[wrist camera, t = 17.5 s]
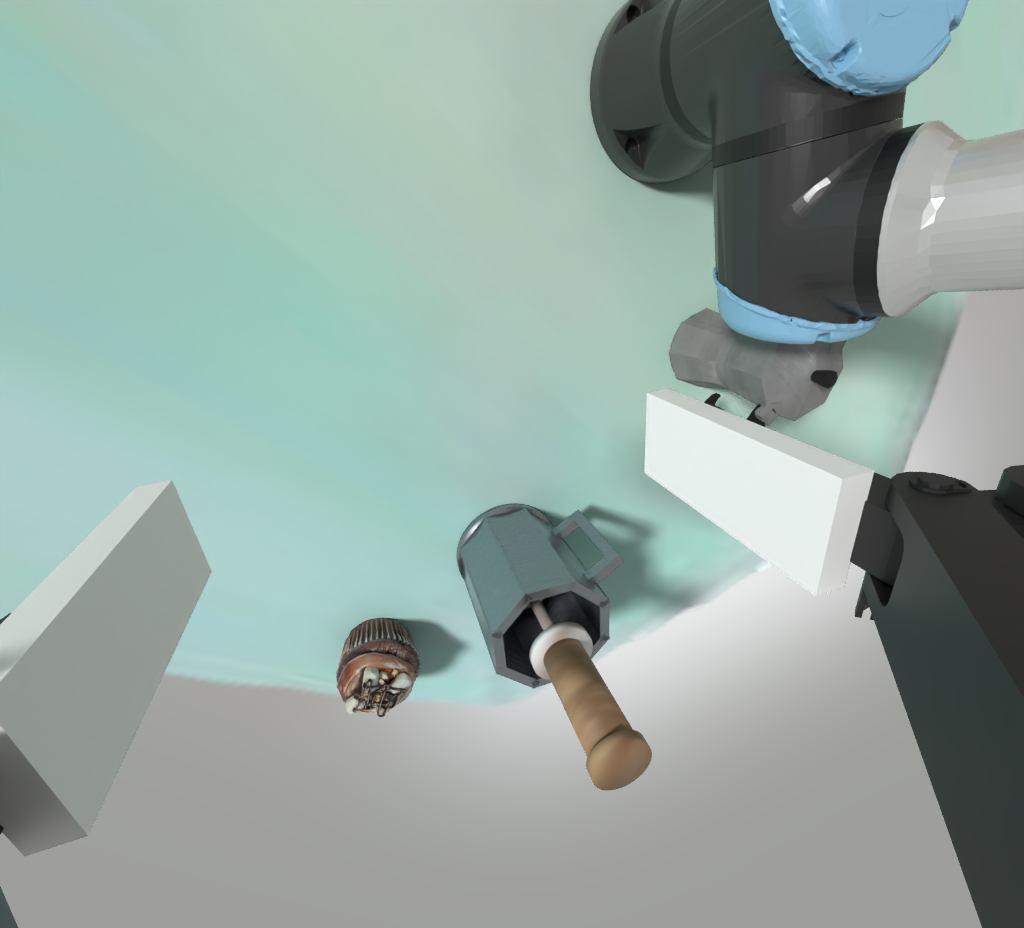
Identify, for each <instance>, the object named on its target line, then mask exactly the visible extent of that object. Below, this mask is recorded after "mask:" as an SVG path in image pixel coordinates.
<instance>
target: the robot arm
mask: <svg viewBox="0 0 1024 928" xmlns="http://www.w3.org/2000/svg"><path fill="white" fill-rule="evenodd" d="M968 1H969V0H629V1H628V2H627V3H626V4H625V5H623V6H622V8H621V9H620V10H619V11H618V12H617V13H616V14H615V15H614V17H613V18H612V20H611V21H610V23H609V24H608V26H607V27H606V29H605V31H604V33H603V35H602V37H601V40H600V42H599V45H598V48H597V51H596V54H595V58H594V62H593V67H592V73H591V83H590V100H591V110H592V116H593V121H594V125H595V128H596V131H597V134H598V137H599V139H600V142H601V144H602V146H603V148H604V150H605V151H606V153H607V154H608V156H609V157H610V159H611V160H612V161H613V162H614V164H615V165H616V166H617V167H618V168H619V169H620V170H622V171H623V172H624V173H625V174H627V175H629V176H630V177H632V178H634V179H636V180H639V181H642V182H646V183H665V182H670V181H673V180H677V179H681V178H684V177H686V176H689V175H691V174H693V173H694V172H696V171H698V170H699V169H701V168H702V167H704V166H705V165H706V164H707V163H708V162H710V161H711V160H712V161H713V169H712V173H713V203H714V232H715V261H716V267H715V268H714V271H713V276H714V281H715V283H716V285H717V295H718V308H719V313H720V316H721V318H722V319H723V320H724V321H725V322H726V323H727V325H728V326H729V327H730V328H731V329H733V330H734V331H736V332H738V333H740V334H742V335H745V336H747V337H751V338H754V339H758V340H763V341H768V342H776V343H785V344H813V343H814V342H815V341H823V342H828V343H831V342H839V341H845V340H849V339H853V338H856V337H859V336H862V335H864V334H866V333H867V332H868V331H870V330H871V329H873V328H874V327H875V326H876V324H877V323H878V321H879V320H880V319H881V318H882V317H895V316H902V315H904V314H906V313H907V312H909V311H910V310H912V309H913V308H914V307H916V306H917V305H919V304H920V303H921V302H923V301H924V300H926V299H927V298H928V297H930V296H931V295H933V294H936V293H938V292H961V291H984V290H985V291H986V290H987V291H988V290H1016V289H1024V129H1023V130H1018V131H1014V132H1009V133H1004V134H1000V135H995V136H991V137H986V138H981V139H977V140H966V139H963V138H962V137H961V136H960V135H958V134H957V133H956V132H954V131H953V130H952V129H951V128H949V127H948V126H947V125H946V124H944V123H943V122H941V121H929V122H926V123H922V124H918V125H914V126H910V127H906V128H902V125H903V110H904V102H905V94H906V87H907V86H908V85H909V84H910V83H911V82H912V81H914V80H916V79H917V78H918V77H919V76H920V75H921V74H923V73H924V72H925V71H926V70H928V69H929V68H930V67H931V66H932V65H933V64H934V63H935V62H936V61H937V59H938V58H939V57H940V56H941V55H942V54H943V52H944V51H945V49H946V48H947V46H948V45H949V43H950V41H951V35H950V32H951V31H952V30H954V29H955V28H956V27H958V26H959V24H960V22H961V20H962V18H963V15H964V13H965V10H966V7H967V4H968ZM899 118H901V119H899ZM896 119H897V120H896ZM893 120H894V121H893ZM817 140H818V141H817ZM813 141H814V142H813ZM809 142H810V143H809ZM798 145H799V146H798ZM794 146H795V147H794ZM790 147H791V148H790ZM786 148H787V149H786ZM783 149H784V150H783ZM779 150H780V151H779ZM768 153H769V154H768ZM764 154H765V155H764ZM760 155H761V156H760ZM756 156H757V157H756ZM753 157H754V158H753ZM749 158H750V159H749ZM745 159H746V160H745ZM741 160H742V161H741ZM738 161H739V162H738ZM734 162H735V163H734ZM729 163H731V164H729ZM726 164H727V165H726ZM723 165H724V166H723ZM644 473H645V474H647V475H648V476H650V477H651V478H652V479H654V480H655V481H656V482H658V483H659V484H661V485H662V486H663V487H665V488H666V489H668V490H669V491H670V492H672V493H673V494H674V495H676V496H677V497H679V498H680V499H681V500H683V501H684V502H686V503H687V504H688V505H690V506H691V507H692V508H694V509H695V510H697V511H698V512H699V513H701V514H702V515H704V516H705V517H706V518H708V519H709V520H710V521H712V522H713V523H715V524H716V525H717V526H719V527H720V528H722V529H723V530H724V531H726V532H727V533H728V534H730V535H731V536H733V537H734V538H735V539H737V540H738V541H740V542H741V543H742V544H744V545H745V546H747V547H748V548H749V549H751V550H752V551H753V552H755V553H756V554H758V555H759V556H760V557H762V558H763V559H765V560H766V561H767V562H769V563H770V564H771V565H773V566H774V567H776V568H777V569H778V570H780V571H781V572H783V573H784V574H785V575H787V576H788V577H790V578H791V579H792V580H794V581H795V582H796V583H798V584H799V585H801V586H802V587H803V588H805V589H806V590H808V591H809V592H810V593H812V594H813V595H815V596H819V595H822V594H824V593H827V592H831V591H834V590H837V589H840V588H843V587H845V583H846V579H847V575H848V571H849V568H850V564H851V562H852V563H853V564H855V565H857V566H858V567H860V568H862V569H864V570H865V571H866V573H865V576H864V580H863V584H862V588H861V591H860V594H859V598H858V602H857V605H856V609H855V617H860V618H861V617H862V613H863V610H865V609H867V608H868V607H870V610H871V613H872V614H871V618H870V619H871V620H874V621H875V624H876V627H877V630H878V633H879V635H880V638H881V641H882V644H883V647H884V650H885V653H886V655H887V658H888V661H889V664H890V667H891V670H892V672H893V675H894V678H895V681H896V684H897V687H898V690H899V692H900V695H901V698H902V701H903V703H904V707H905V709H906V712H907V715H908V718H909V721H910V723H911V726H912V729H913V732H914V735H915V738H916V740H917V744H918V746H919V749H920V752H921V755H922V758H923V760H924V763H925V766H926V769H927V772H928V775H929V777H930V780H931V783H932V786H933V789H934V792H935V794H936V798H937V800H938V803H939V806H940V809H941V812H942V815H943V817H944V820H945V823H946V826H947V829H948V832H949V835H950V837H951V840H952V843H953V846H954V849H955V851H956V854H957V857H958V860H959V863H960V866H961V869H962V871H963V874H964V877H965V880H966V883H967V885H968V888H969V891H970V894H971V897H972V900H973V903H974V905H975V908H976V911H977V914H978V917H979V920H980V923H981V925H982V928H1024V465H1019V466H1011V467H1009V468H1006V469H1004V471H1003V474H1002V476H1001V479H1000V482H999V484H998V487H997V489H996V490H984V491H978V490H977V489H976V488H974V487H973V486H971V485H970V484H968V483H967V482H965V481H962V480H958V479H956V478H952V477H948V476H945V475H941V474H936V473H927V472H905V473H899V474H896V475H895V476H894V477H892V479H890V478H887V477H885V476H882V475H880V474H877V473H875V472H874V470H871V469H869V468H866V467H864V466H861V465H859V464H856V463H854V462H851V461H849V460H846V459H844V458H841V457H839V456H836V455H834V454H831V453H829V452H826V451H824V450H821V449H819V448H816V447H814V446H811V445H809V444H806V443H804V442H801V441H799V440H796V439H794V438H791V437H788V436H786V435H783V434H781V433H778V432H776V431H773V430H771V429H768V428H766V427H763V426H761V425H758V424H756V423H753V422H751V421H748V420H746V419H743V418H741V417H738V416H736V415H733V414H731V413H728V412H726V411H723V410H721V409H718V408H716V407H713V406H711V405H708V404H706V403H703V402H700V401H698V400H695V399H693V398H690V397H688V396H685V395H683V394H680V393H678V392H675V391H673V390H670V389H665V390H660V391H654V392H649V393H647V410H646V441H645V471H644ZM211 572H212V571H211V569H210V567H209V564H208V562H207V560H206V557H205V555H204V553H203V550H202V548H201V546H200V544H199V541H198V539H197V537H196V534H195V532H194V530H193V527H192V525H191V523H190V520H189V518H188V516H187V514H186V511H185V509H184V507H183V504H182V502H181V500H180V497H179V495H178V493H177V490H176V488H175V486H174V484H173V481H172V480H170V481H164V482H159V483H153V484H148V485H142V486H137V487H135V488H134V489H133V490H132V492H131V493H130V494H129V495H128V496H127V497H126V498H125V499H124V500H123V501H122V502H121V503H120V504H119V505H118V506H117V507H116V508H115V509H114V510H113V511H112V512H111V513H110V514H109V515H108V516H107V517H106V518H105V519H104V520H103V521H102V522H101V523H100V524H99V525H98V526H97V527H96V528H95V529H94V530H93V531H92V532H91V533H90V534H89V535H88V536H87V537H86V538H85V539H84V540H83V541H82V542H81V543H80V544H79V545H78V546H77V547H76V548H75V549H74V550H73V551H72V552H71V553H70V554H69V555H68V556H67V557H66V558H65V559H64V560H63V561H62V563H61V564H60V565H59V566H58V567H57V568H56V569H55V570H54V571H53V572H52V573H51V574H50V575H49V576H48V577H47V578H46V579H45V580H44V581H43V582H42V583H41V584H40V585H39V586H38V587H37V588H36V589H35V590H34V591H33V592H32V593H31V594H30V595H29V596H28V597H27V598H26V599H25V600H24V601H23V602H22V603H21V604H20V605H19V606H18V607H17V608H16V609H15V610H14V611H13V612H12V613H9V614H8V615H7V616H5V617H4V618H2V619H1V620H0V834H1V833H2V832H3V833H4V835H5V836H6V837H7V838H8V839H9V840H10V841H11V842H12V843H13V844H14V845H15V847H16V848H17V849H18V850H19V851H20V852H21V853H22V854H23V855H24V856H27V855H31V854H34V853H37V852H40V851H43V850H46V849H49V848H52V847H55V846H58V845H61V844H64V843H67V842H70V841H73V840H76V839H79V838H82V837H85V836H88V834H89V832H90V830H91V828H92V826H93V824H94V822H95V819H96V817H97V815H98V813H99V811H100V809H101V807H102V805H103V802H104V800H105V798H106V796H107V794H108V792H109V790H110V787H111V785H112V783H113V781H114V779H115V777H116V774H117V773H118V770H119V768H120V766H121V764H122V762H123V760H124V758H125V755H126V753H127V751H128V749H129V747H130V745H131V743H132V740H133V738H134V736H135V734H136V732H137V730H138V728H139V726H140V723H141V721H142V719H143V717H144V715H145V713H146V710H147V708H148V706H149V704H150V702H151V700H152V698H153V696H154V693H155V691H156V689H157V687H158V685H159V683H160V681H161V679H162V676H163V674H164V672H165V670H166V668H167V666H168V664H169V661H170V659H171V657H172V655H173V653H174V651H175V649H176V647H177V644H178V642H179V640H180V638H181V636H182V634H183V632H184V629H185V627H186V625H187V623H188V621H189V619H190V617H191V614H192V612H193V610H194V608H195V606H196V604H197V602H198V600H199V597H200V595H201V593H202V591H203V589H204V587H205V585H206V582H207V580H208V578H209V576H210V574H211ZM0 928H18V926H17V924H16V922H15V920H14V917H13V915H12V913H11V910H10V908H9V906H8V903H7V901H6V899H5V896H4V894H3V892H2V889H1V887H0Z"/></svg>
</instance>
